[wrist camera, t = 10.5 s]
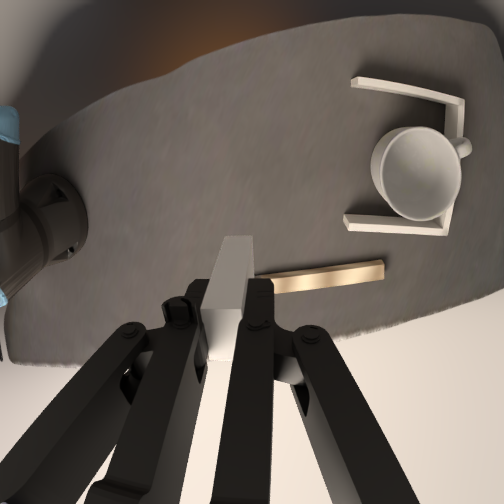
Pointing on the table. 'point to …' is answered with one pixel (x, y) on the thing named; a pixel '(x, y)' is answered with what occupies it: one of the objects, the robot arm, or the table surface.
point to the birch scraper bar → (326, 276)
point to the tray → (451, 131)
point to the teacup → (418, 171)
